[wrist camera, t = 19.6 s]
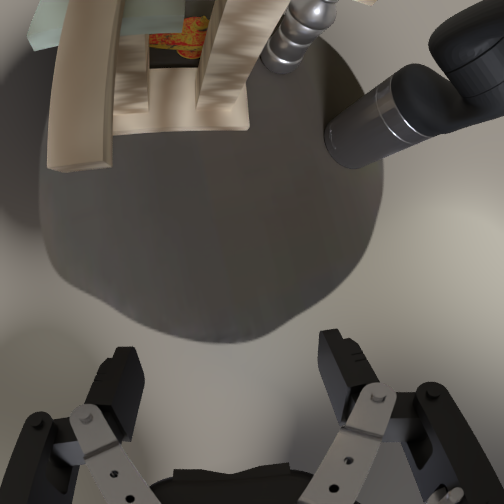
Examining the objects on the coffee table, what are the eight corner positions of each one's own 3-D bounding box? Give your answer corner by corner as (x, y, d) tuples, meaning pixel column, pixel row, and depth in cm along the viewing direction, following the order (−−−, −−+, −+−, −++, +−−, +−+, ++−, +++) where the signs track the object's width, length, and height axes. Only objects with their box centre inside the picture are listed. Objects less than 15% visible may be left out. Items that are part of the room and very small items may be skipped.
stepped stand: (244, 64, 44) (334, -95, 13) (251, 143, 44) (387, -10, 13) (100, 68, 38) (69, -107, 7) (92, 151, 38) (0, -20, 7)
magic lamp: (121, 55, 39) (115, 10, 28) (223, 23, 43) (238, -20, 32) (136, 86, 39) (131, 42, 29) (241, 50, 44) (261, 7, 33)
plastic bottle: (295, 53, 46) (352, -20, 27) (293, 83, 46) (356, 10, 26) (259, 43, 44) (305, -38, 25) (255, 73, 44) (305, -10, 25)
